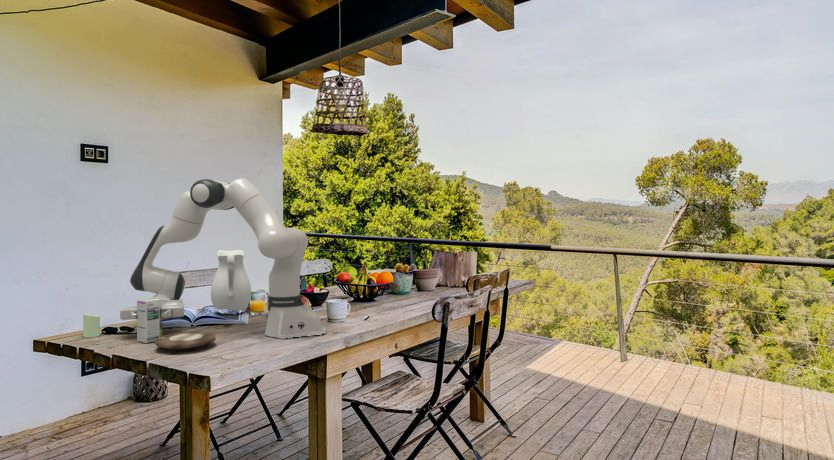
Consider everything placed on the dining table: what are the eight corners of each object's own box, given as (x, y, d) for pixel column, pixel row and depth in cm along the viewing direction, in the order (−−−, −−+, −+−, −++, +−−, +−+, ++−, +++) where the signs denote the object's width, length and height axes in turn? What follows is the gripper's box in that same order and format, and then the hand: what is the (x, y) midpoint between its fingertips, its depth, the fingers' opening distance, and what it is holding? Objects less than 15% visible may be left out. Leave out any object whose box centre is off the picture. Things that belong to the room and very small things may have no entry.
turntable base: (205, 342, 172) (205, 337, 172) (199, 350, 163) (199, 345, 163) (173, 344, 170) (173, 339, 170) (165, 352, 160) (165, 346, 160)
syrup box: (146, 343, 170) (146, 300, 170) (136, 340, 173) (136, 298, 173) (162, 340, 175) (162, 298, 174) (152, 337, 178) (152, 296, 178)
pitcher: (212, 310, 231) (212, 249, 231) (251, 308, 236) (251, 249, 236) (207, 320, 209) (207, 253, 208) (250, 318, 214) (250, 252, 213)
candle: (95, 333, 184) (95, 311, 184) (102, 335, 181) (102, 313, 181) (80, 336, 180) (80, 313, 180) (87, 338, 177) (87, 315, 177)
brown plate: (219, 333, 177) (219, 329, 177) (210, 346, 160) (210, 342, 160) (163, 336, 173) (163, 332, 173) (148, 349, 156) (148, 345, 156)
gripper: (125, 301, 183) (114, 308, 170) (186, 299, 189) (181, 305, 176) (125, 319, 183) (114, 327, 170) (186, 315, 189) (181, 323, 176)
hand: (149, 316), depth 173 cm, fingers closed on syrup box, 8 cm apart
